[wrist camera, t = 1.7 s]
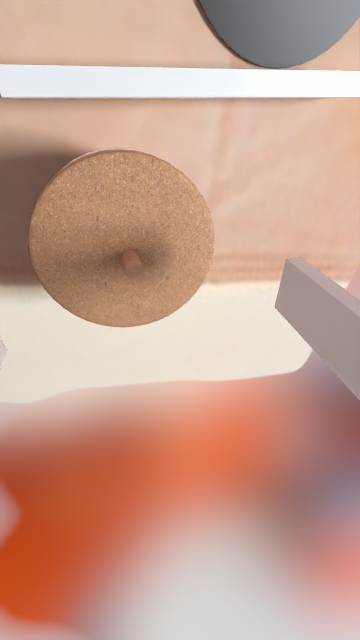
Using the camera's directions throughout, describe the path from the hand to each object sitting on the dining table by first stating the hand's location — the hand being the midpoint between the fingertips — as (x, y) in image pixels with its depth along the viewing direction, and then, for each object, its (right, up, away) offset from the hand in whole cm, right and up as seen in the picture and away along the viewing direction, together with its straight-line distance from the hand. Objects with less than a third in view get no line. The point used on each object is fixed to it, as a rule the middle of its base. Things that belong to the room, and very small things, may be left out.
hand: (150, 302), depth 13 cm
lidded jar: (-4, +8, +10) cm, 13 cm away
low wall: (+2, +15, +6) cm, 16 cm away
